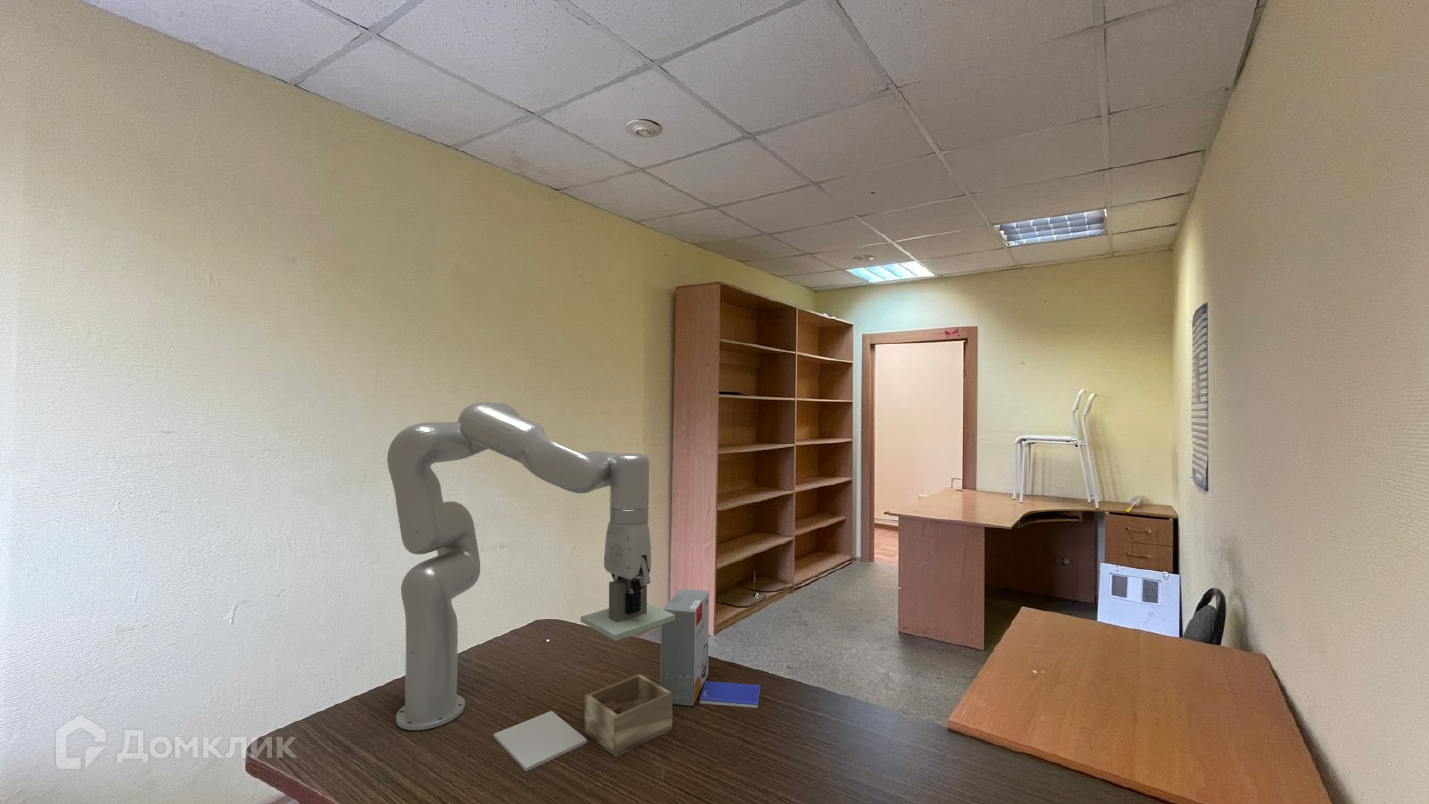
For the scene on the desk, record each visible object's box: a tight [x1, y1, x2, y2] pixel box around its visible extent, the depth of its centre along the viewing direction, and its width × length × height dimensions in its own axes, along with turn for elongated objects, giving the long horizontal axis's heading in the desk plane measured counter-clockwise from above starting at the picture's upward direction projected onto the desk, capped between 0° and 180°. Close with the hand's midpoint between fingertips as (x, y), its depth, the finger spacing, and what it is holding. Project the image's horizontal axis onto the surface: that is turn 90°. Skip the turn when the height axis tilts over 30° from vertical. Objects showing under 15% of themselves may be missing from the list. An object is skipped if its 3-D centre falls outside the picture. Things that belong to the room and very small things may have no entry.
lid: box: [580, 579, 675, 642], centre depth 108 cm, size 12×14×9 cm
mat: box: [493, 710, 588, 772], centre depth 104 cm, size 14×12×1 cm
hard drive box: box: [659, 588, 710, 707], centre depth 124 cm, size 16×8×20 cm, turn 168°
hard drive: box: [699, 680, 761, 709], centre depth 120 cm, size 2×8×12 cm
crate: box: [584, 673, 673, 758], centre depth 107 cm, size 11×13×7 cm
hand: (627, 609), depth 108 cm, fingers closed on lid, 2 cm apart
